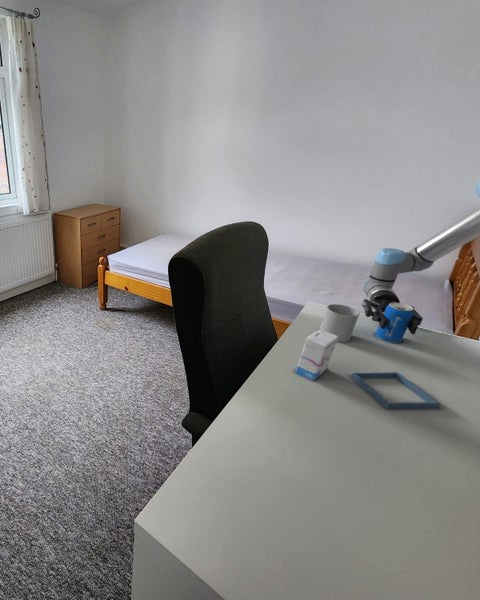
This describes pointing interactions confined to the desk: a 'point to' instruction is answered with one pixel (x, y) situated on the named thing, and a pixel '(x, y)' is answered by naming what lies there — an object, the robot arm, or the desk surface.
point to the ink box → (316, 354)
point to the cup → (340, 321)
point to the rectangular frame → (401, 405)
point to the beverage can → (395, 322)
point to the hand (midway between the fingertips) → (399, 327)
